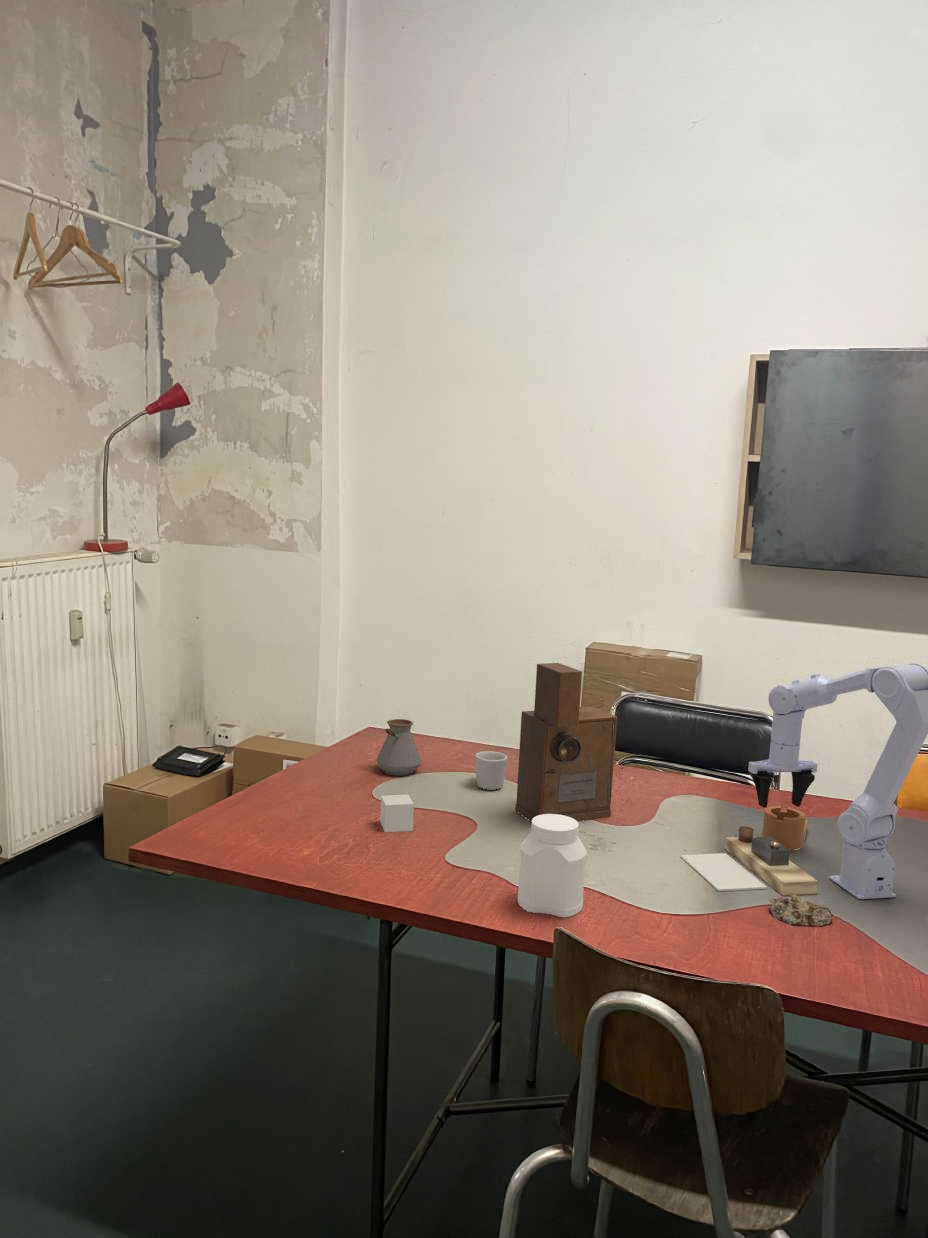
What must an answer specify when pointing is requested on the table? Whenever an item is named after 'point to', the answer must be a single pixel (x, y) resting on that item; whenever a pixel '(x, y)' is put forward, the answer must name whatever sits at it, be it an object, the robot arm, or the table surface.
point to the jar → (552, 867)
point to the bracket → (785, 826)
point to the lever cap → (770, 851)
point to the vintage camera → (565, 750)
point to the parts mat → (723, 872)
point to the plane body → (770, 867)
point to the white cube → (396, 813)
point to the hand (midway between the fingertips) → (779, 805)
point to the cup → (490, 769)
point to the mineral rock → (800, 911)
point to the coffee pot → (399, 749)
